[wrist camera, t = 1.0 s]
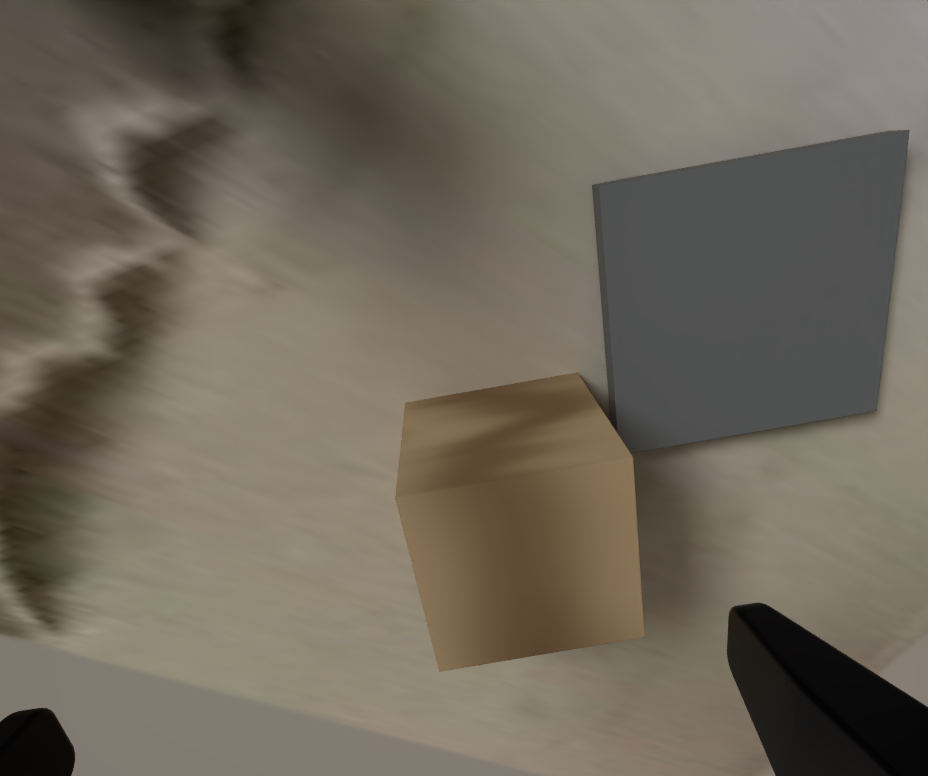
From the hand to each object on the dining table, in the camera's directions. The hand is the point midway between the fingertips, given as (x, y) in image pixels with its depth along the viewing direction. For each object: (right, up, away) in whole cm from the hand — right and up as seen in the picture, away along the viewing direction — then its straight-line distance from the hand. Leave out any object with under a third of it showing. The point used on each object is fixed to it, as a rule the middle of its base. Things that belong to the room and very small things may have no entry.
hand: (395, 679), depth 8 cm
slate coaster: (+10, +7, +11) cm, 17 cm away
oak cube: (+2, +1, +13) cm, 14 cm away
